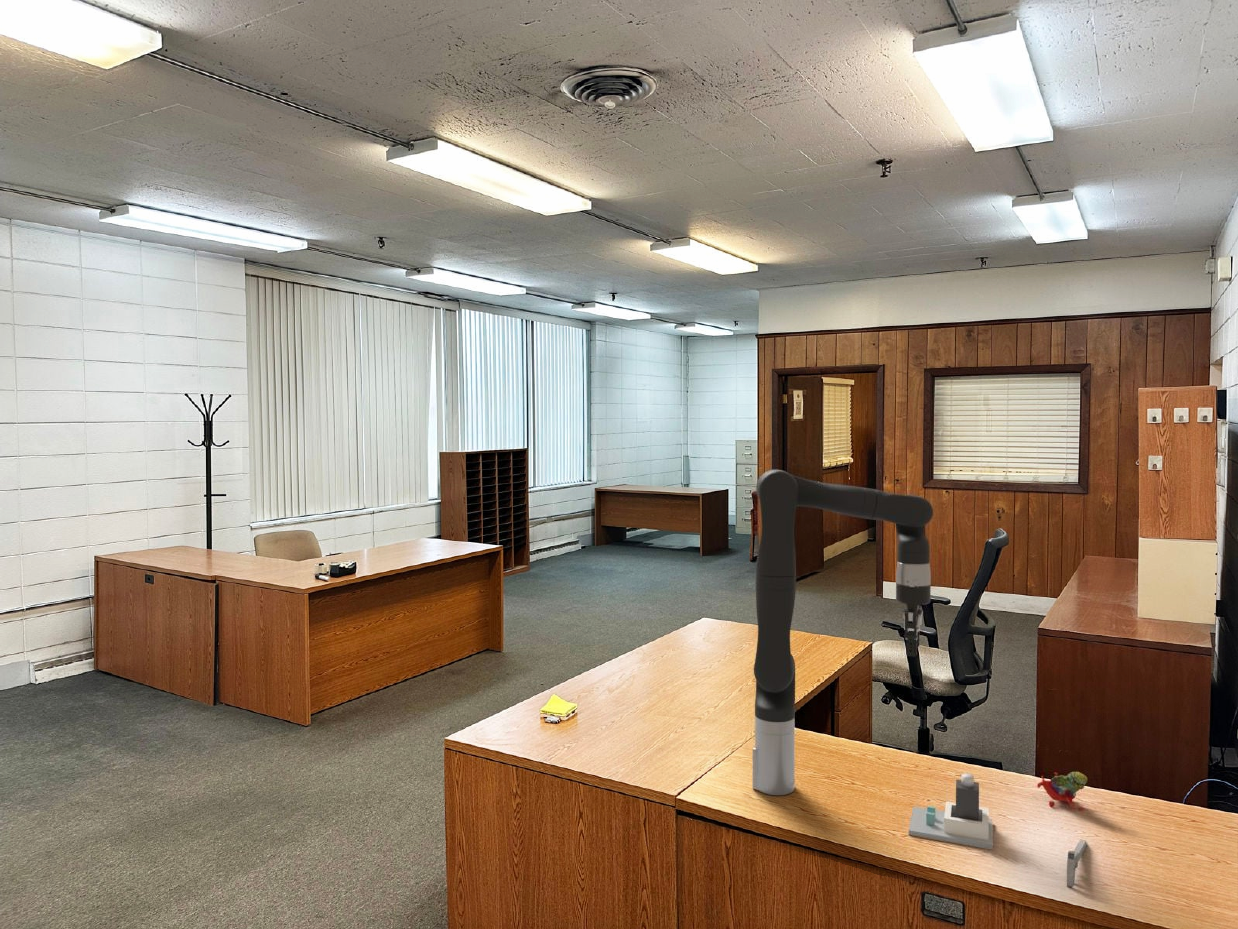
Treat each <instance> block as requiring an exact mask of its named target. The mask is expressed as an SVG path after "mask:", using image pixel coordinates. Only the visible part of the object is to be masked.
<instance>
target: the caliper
mask: <svg viewBox="0 0 1238 929" xmlns="http://www.w3.org/2000/svg"><path fill="white" fill-rule="evenodd" d="M1087 843H1088V842H1087V840H1085V839H1080V840H1079V842H1078V843H1077V845H1076V846H1075V847H1074V850H1068V851H1067V862H1066V886H1067V887H1069V888H1074V885H1075V882H1076V881H1075V880H1076V879H1075V878H1076V869H1077V868H1078V867H1079V866H1078V864H1079V861H1080V859H1081V857H1082V856H1083V854H1084V852H1085V850H1086V849H1087Z"/></svg>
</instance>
